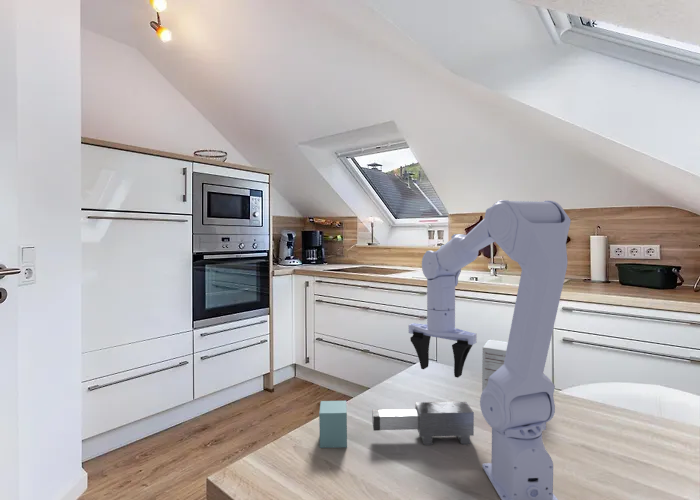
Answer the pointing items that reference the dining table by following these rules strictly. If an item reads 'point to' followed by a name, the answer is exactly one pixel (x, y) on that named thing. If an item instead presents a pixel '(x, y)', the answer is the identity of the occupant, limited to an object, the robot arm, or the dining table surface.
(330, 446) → the socket
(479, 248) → the robot arm
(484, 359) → the supplement box
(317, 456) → the dining table surface
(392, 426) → the extension bar
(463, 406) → the sleeve
